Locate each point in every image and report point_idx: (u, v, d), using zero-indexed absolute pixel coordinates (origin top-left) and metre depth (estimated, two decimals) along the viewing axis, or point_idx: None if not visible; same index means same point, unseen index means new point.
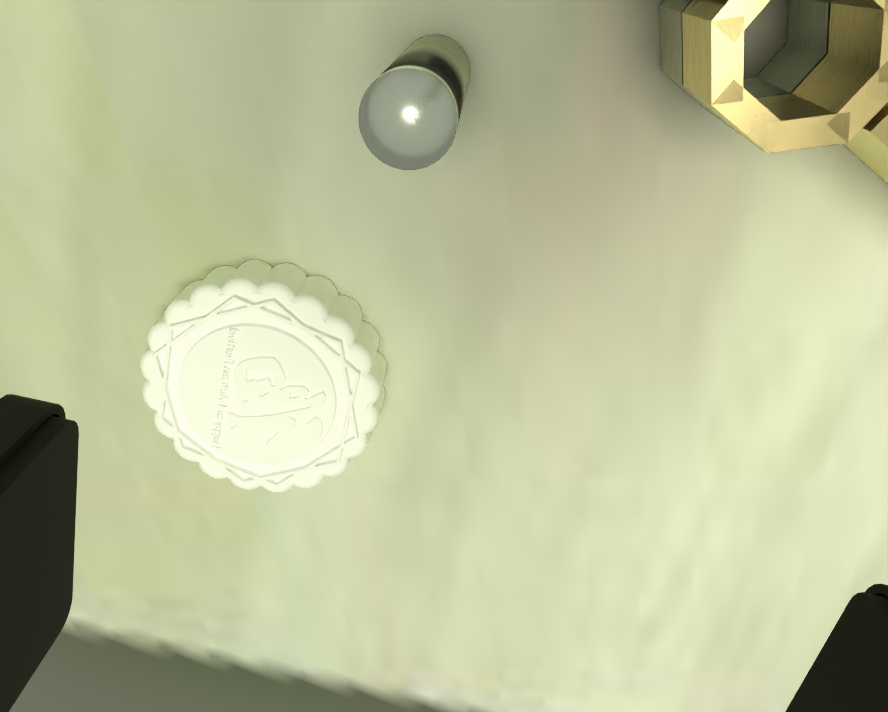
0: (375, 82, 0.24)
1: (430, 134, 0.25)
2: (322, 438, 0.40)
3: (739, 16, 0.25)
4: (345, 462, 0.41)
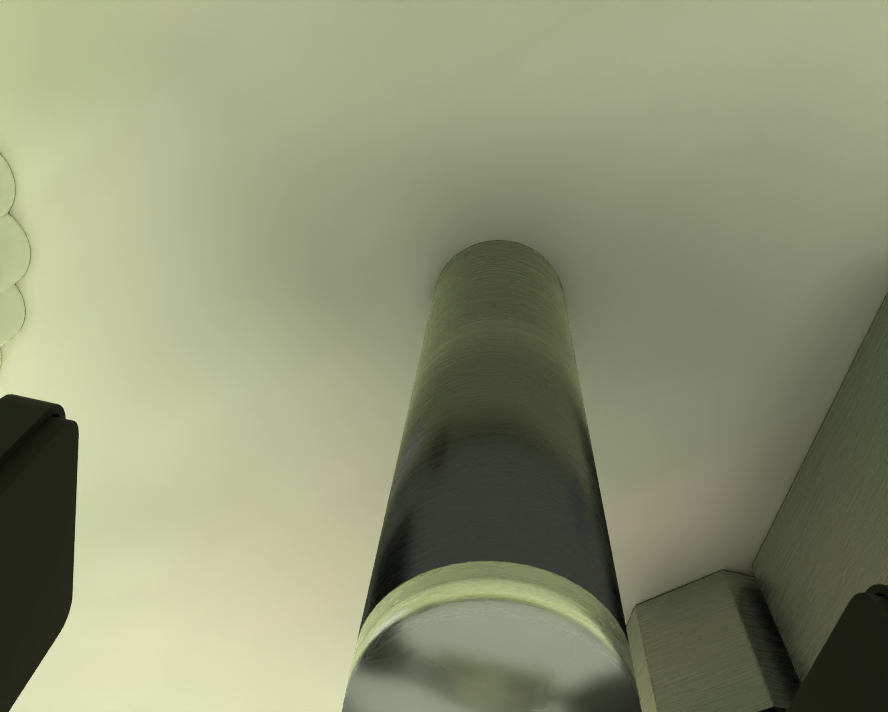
0: (561, 634, 0.07)
1: None
2: None
3: None
4: None
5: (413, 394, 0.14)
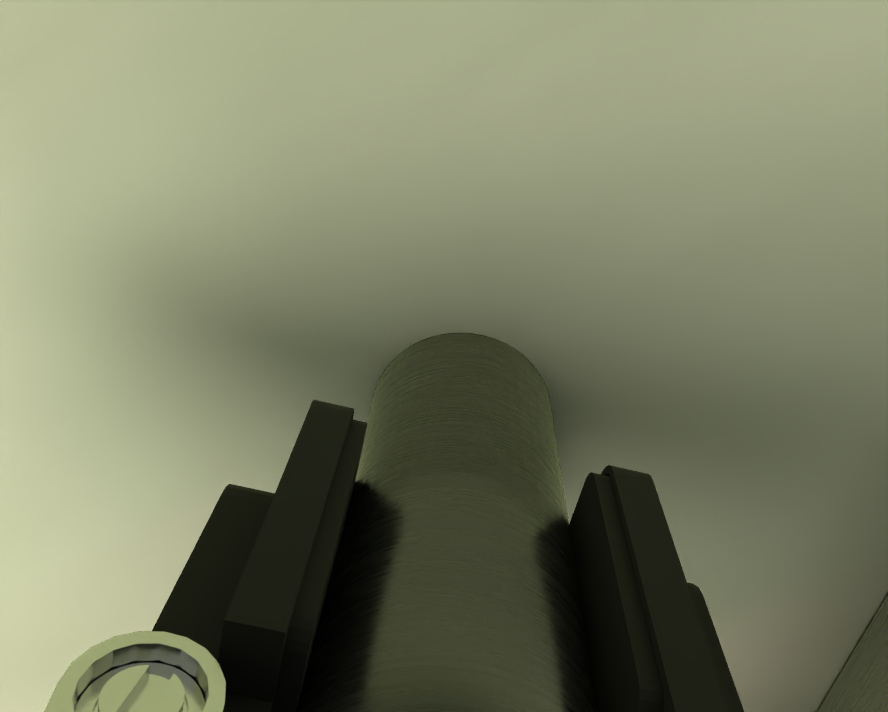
0: None
1: None
2: None
3: None
4: None
5: None
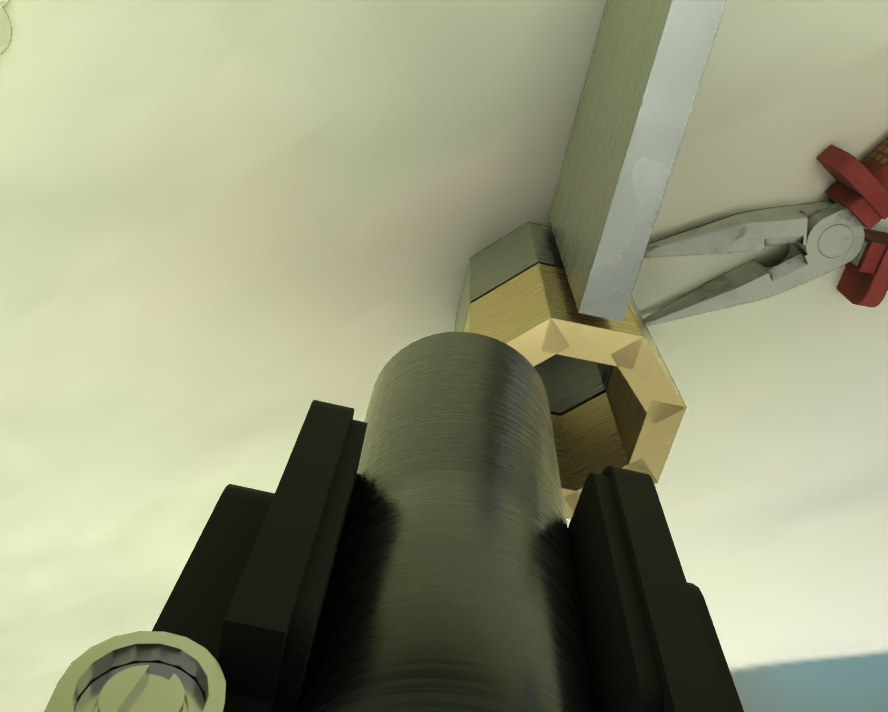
0: None
1: None
2: None
3: (567, 342, 0.22)
4: None
5: None
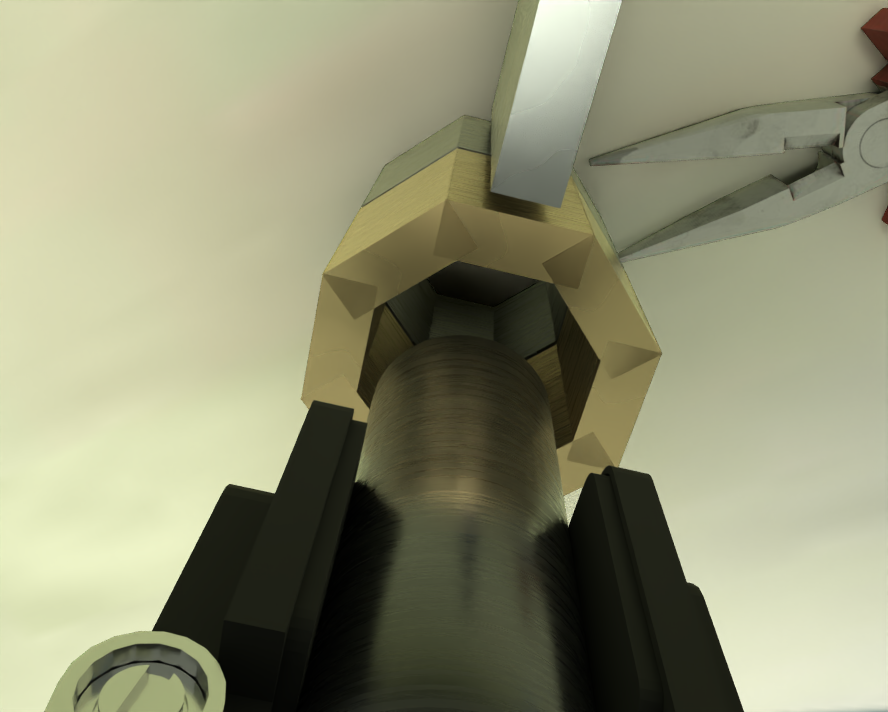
0: None
1: None
2: None
3: (473, 241, 0.14)
4: None
5: None
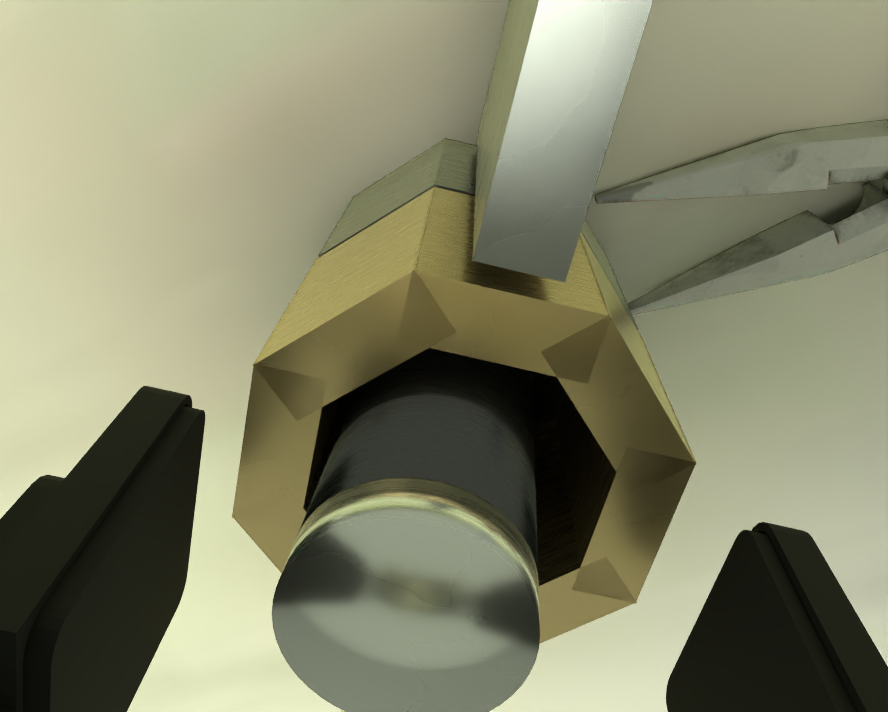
0: (461, 536, 0.08)
1: (398, 683, 0.09)
2: None
3: (450, 323, 0.11)
4: None
5: None
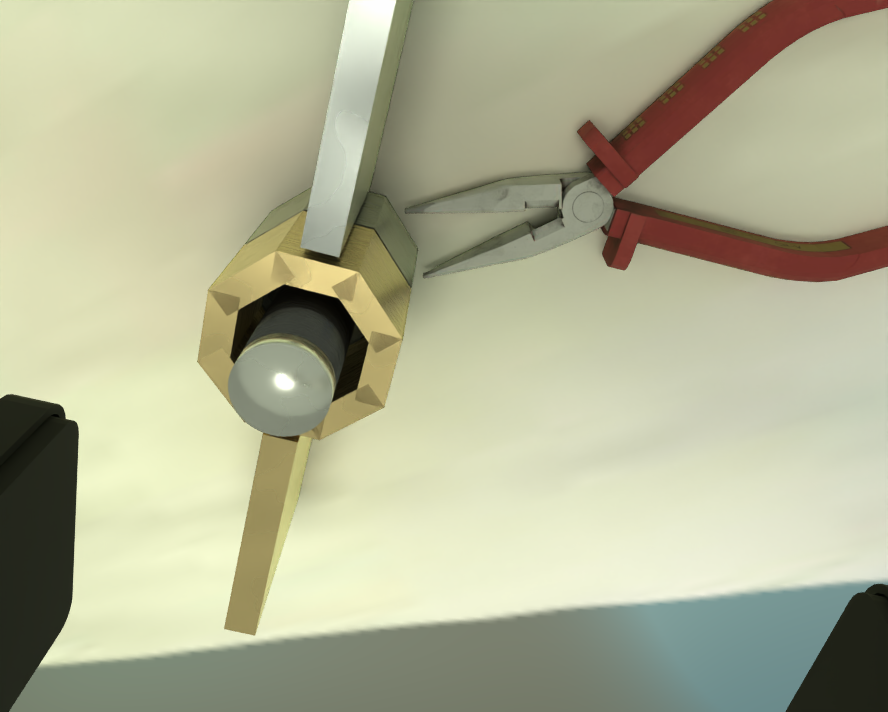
0: (299, 351, 0.23)
1: (278, 415, 0.24)
2: None
3: (292, 273, 0.25)
4: None
5: None
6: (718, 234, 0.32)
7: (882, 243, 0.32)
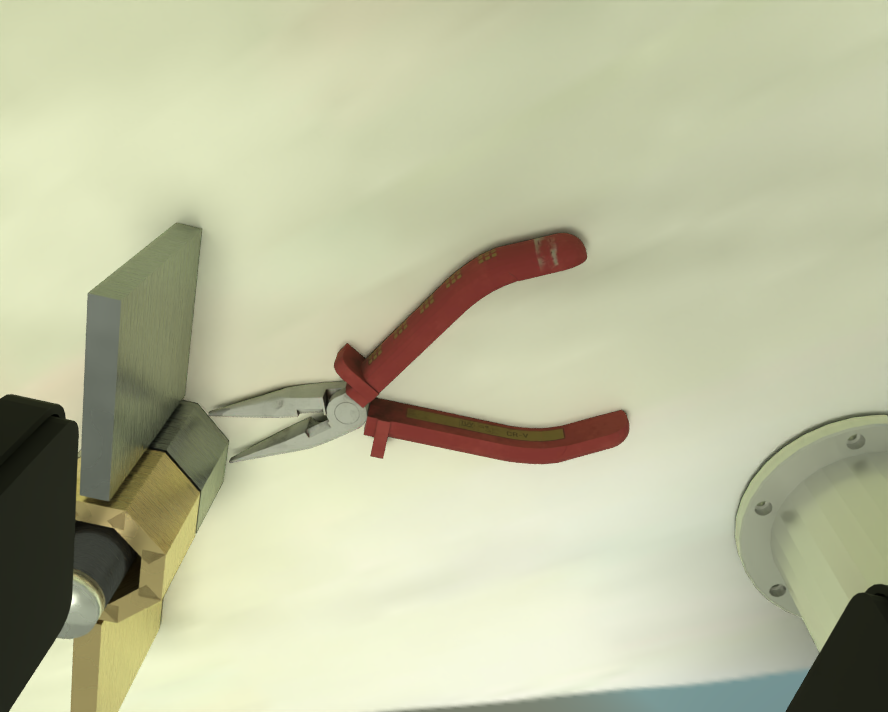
0: None
1: None
2: None
3: (77, 512, 0.33)
4: None
5: None
6: (451, 433, 0.39)
7: (585, 436, 0.39)
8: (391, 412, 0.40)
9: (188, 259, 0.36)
